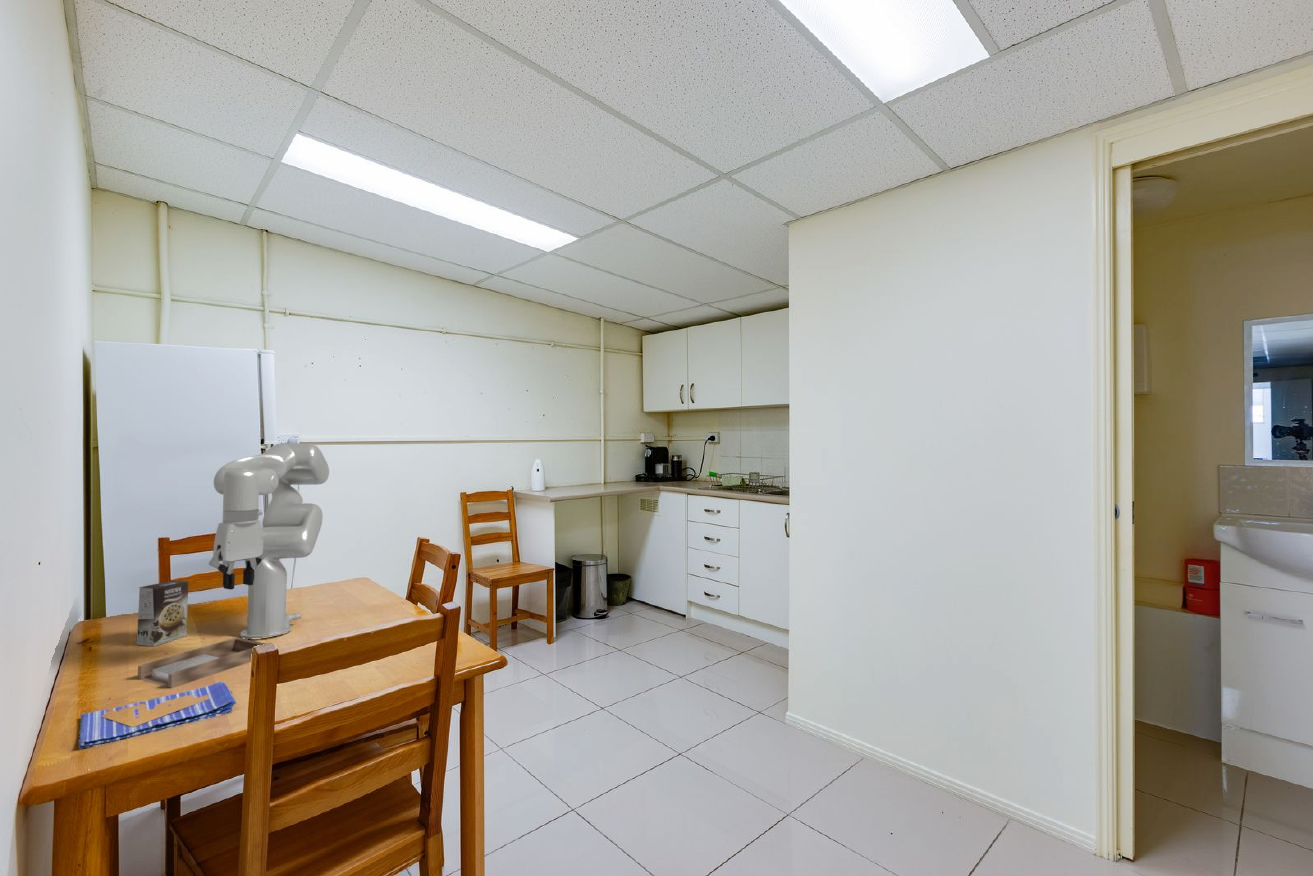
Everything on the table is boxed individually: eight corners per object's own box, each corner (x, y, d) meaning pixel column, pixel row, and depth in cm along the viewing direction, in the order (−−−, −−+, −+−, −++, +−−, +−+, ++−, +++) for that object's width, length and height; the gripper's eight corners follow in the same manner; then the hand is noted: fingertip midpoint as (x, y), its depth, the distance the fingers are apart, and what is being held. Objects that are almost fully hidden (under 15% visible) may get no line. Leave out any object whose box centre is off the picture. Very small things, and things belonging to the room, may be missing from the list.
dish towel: (237, 714, 120) (237, 700, 120) (77, 755, 103) (77, 739, 103) (225, 688, 132) (225, 676, 132) (80, 721, 115) (80, 707, 115)
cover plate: (203, 662, 144) (203, 654, 144) (223, 667, 141) (223, 658, 141) (151, 678, 134) (151, 669, 134) (172, 683, 131) (172, 675, 131)
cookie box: (154, 647, 156) (156, 588, 156) (135, 645, 157) (137, 586, 157) (187, 636, 165) (189, 580, 165) (170, 634, 166) (171, 579, 166)
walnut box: (236, 651, 154) (237, 637, 154) (268, 658, 149) (269, 644, 149) (137, 682, 133) (138, 665, 133) (171, 691, 128) (171, 674, 128)
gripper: (263, 512, 157) (261, 578, 157) (195, 519, 142) (193, 592, 141) (281, 514, 154) (280, 581, 154) (214, 521, 139) (212, 596, 139)
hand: (238, 586), depth 148 cm, fingers open, 4 cm apart
